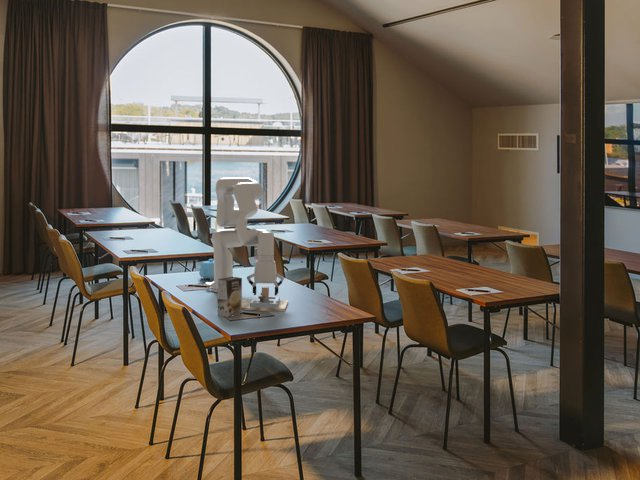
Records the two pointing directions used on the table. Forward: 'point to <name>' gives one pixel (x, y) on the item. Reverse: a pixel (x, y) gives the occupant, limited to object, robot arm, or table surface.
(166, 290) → the table surface
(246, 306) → the board
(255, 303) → the panel
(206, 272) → the teapot
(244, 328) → the table surface
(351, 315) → the table surface
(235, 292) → the coffee box
